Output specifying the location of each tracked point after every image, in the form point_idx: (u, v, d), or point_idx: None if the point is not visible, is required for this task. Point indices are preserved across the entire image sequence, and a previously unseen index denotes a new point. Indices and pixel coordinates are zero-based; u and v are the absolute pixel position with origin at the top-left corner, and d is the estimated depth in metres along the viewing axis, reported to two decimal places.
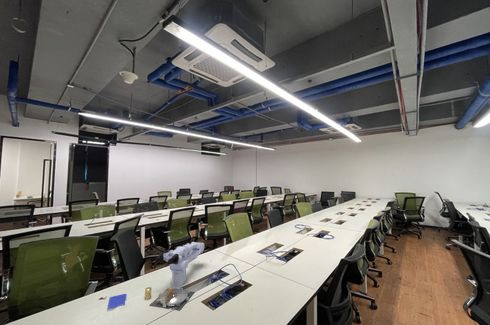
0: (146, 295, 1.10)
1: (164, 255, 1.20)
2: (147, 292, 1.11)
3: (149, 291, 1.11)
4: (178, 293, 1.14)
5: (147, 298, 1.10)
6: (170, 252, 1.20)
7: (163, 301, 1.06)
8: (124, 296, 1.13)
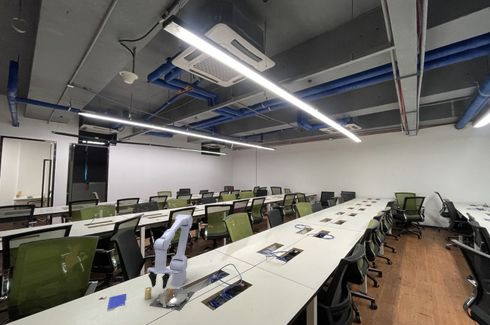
0: (146, 295, 1.10)
1: None
2: (147, 292, 1.11)
3: (149, 291, 1.11)
4: (178, 293, 1.14)
5: (147, 298, 1.10)
6: None
7: (163, 301, 1.06)
8: (124, 296, 1.13)
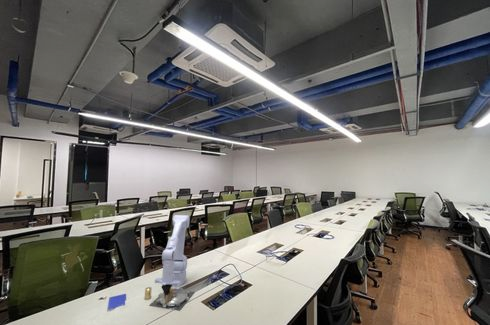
0: (146, 295, 1.10)
1: None
2: (147, 292, 1.11)
3: (149, 291, 1.11)
4: (178, 293, 1.14)
5: (147, 298, 1.10)
6: None
7: (163, 301, 1.06)
8: (124, 296, 1.13)
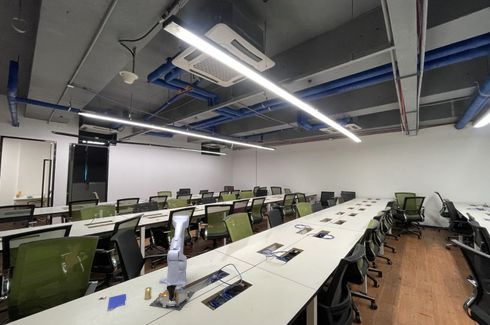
0: (146, 295, 1.10)
1: None
2: (147, 292, 1.11)
3: (149, 291, 1.11)
4: None
5: (147, 298, 1.10)
6: None
7: (172, 302, 1.06)
8: (124, 296, 1.13)
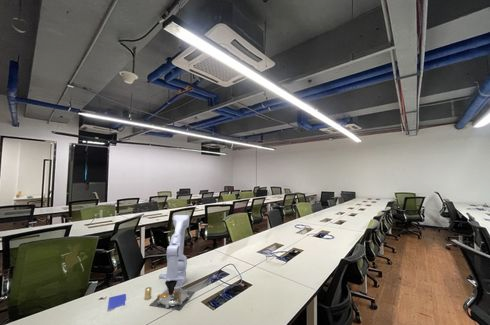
0: (146, 295, 1.10)
1: None
2: (147, 292, 1.11)
3: (149, 291, 1.11)
4: (174, 292, 1.15)
5: (147, 298, 1.10)
6: None
7: (174, 302, 1.06)
8: (124, 296, 1.13)
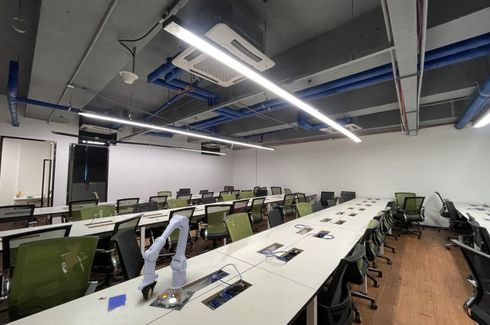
0: None
1: None
2: None
3: (149, 291, 1.11)
4: (174, 292, 1.15)
5: None
6: None
7: (174, 302, 1.06)
8: (124, 296, 1.13)
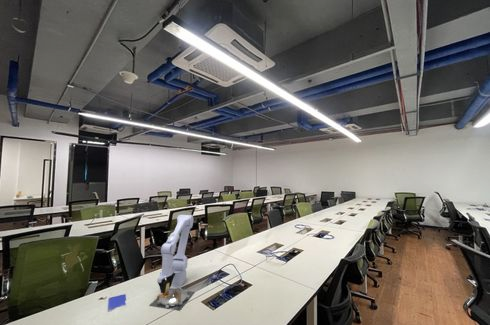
0: None
1: None
2: None
3: (167, 285, 1.13)
4: (174, 292, 1.15)
5: (165, 292, 1.12)
6: None
7: (174, 302, 1.06)
8: (124, 296, 1.12)
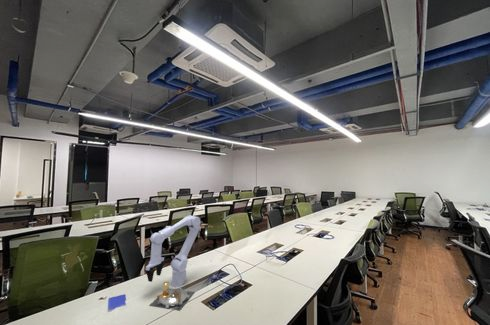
0: (164, 289, 1.12)
1: None
2: (165, 286, 1.12)
3: (167, 285, 1.13)
4: (174, 292, 1.15)
5: (165, 292, 1.12)
6: None
7: (174, 302, 1.06)
8: (123, 296, 1.12)
